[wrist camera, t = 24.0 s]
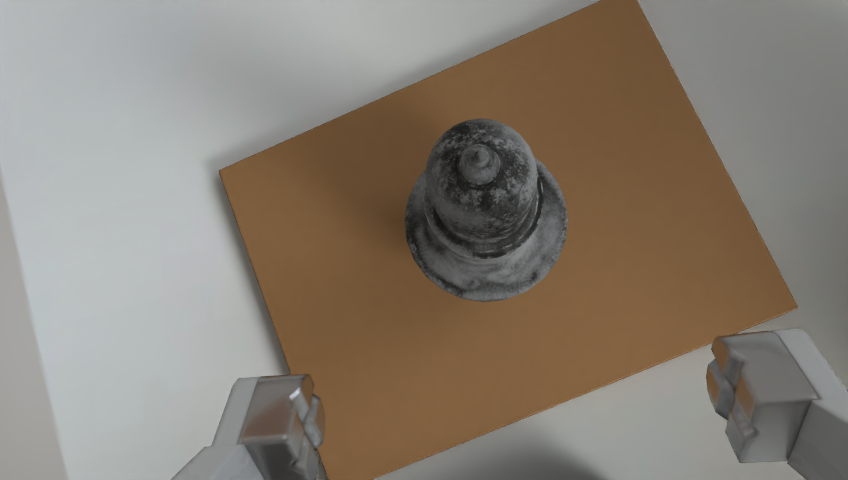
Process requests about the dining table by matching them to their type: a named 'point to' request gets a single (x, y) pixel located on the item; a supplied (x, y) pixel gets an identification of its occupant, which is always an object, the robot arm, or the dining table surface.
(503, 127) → the stone finial
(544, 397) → the cork mat
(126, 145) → the dining table surface
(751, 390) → the robot arm
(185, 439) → the dining table surface
